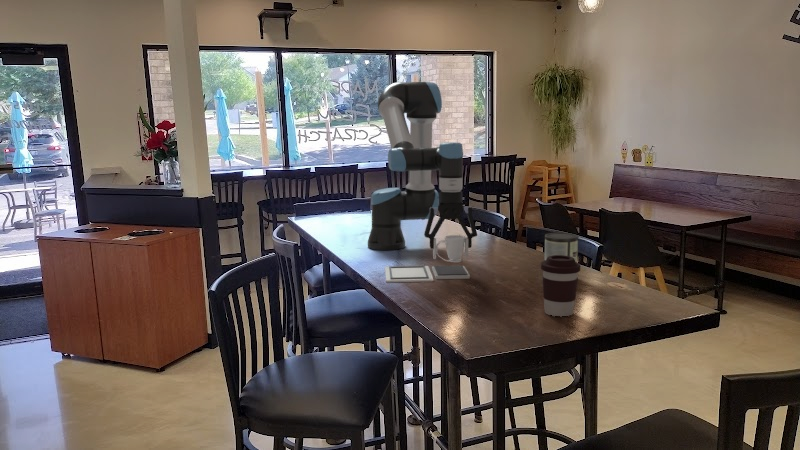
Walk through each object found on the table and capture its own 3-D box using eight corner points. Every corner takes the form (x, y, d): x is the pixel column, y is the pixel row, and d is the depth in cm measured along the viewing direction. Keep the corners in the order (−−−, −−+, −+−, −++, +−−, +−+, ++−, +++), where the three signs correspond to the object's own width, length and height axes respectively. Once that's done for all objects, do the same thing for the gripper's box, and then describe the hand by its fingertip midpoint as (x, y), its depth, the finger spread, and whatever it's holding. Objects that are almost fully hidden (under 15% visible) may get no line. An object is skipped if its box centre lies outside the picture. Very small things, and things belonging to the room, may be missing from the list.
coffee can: (545, 273, 199) (546, 231, 196) (577, 276, 195) (579, 233, 193) (541, 281, 189) (543, 237, 187) (575, 284, 186) (577, 239, 183)
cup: (468, 262, 196) (468, 238, 195) (438, 264, 194) (438, 240, 193) (462, 257, 203) (462, 234, 201) (433, 259, 201) (433, 236, 200)
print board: (384, 268, 207) (384, 265, 207) (428, 267, 208) (428, 264, 208) (386, 282, 190) (386, 279, 189) (433, 281, 190) (433, 278, 190)
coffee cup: (534, 308, 163) (536, 254, 160) (570, 306, 163) (572, 252, 161) (546, 320, 153) (548, 262, 150) (584, 318, 154) (586, 261, 151)
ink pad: (431, 269, 206) (431, 265, 205) (463, 268, 206) (463, 264, 206) (435, 279, 193) (435, 275, 193) (470, 278, 193) (470, 274, 193)
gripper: (417, 192, 190) (417, 261, 194) (487, 191, 191) (486, 259, 195) (415, 189, 198) (415, 256, 202) (483, 188, 199) (482, 254, 203)
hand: (450, 257), depth 198 cm, fingers closed on cup, 10 cm apart
